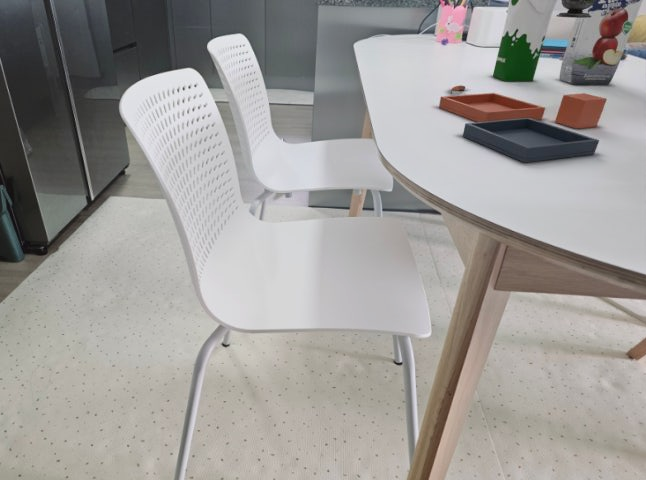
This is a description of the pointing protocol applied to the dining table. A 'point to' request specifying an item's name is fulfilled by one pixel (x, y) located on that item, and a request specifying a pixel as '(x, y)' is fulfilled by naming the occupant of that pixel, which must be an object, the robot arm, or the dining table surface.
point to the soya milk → (523, 39)
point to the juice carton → (598, 42)
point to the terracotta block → (580, 110)
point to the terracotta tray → (490, 107)
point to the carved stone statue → (576, 8)
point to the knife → (457, 90)
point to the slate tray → (530, 139)
